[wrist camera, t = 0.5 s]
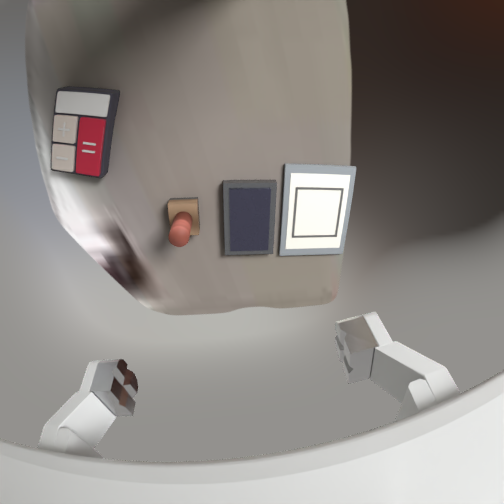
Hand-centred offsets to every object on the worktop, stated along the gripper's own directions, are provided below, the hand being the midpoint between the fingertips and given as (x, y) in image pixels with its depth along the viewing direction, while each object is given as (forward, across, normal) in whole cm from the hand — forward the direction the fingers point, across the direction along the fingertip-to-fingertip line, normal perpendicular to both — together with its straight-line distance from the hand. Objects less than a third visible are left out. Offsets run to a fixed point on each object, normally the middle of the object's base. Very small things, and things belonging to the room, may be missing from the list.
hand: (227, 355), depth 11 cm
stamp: (+44, +10, +11) cm, 46 cm away
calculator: (+44, +23, -9) cm, 51 cm away
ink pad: (+44, -1, +15) cm, 46 cm away
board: (+44, -14, +16) cm, 49 cm away
